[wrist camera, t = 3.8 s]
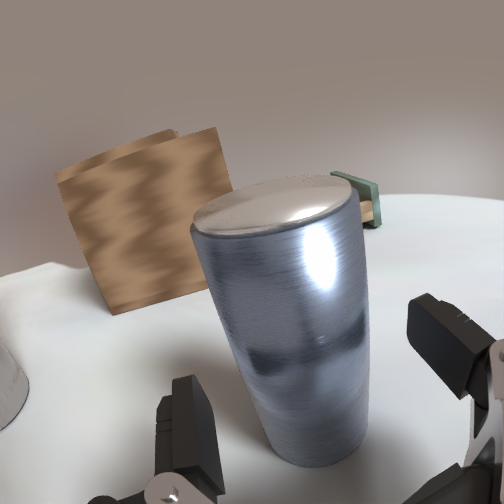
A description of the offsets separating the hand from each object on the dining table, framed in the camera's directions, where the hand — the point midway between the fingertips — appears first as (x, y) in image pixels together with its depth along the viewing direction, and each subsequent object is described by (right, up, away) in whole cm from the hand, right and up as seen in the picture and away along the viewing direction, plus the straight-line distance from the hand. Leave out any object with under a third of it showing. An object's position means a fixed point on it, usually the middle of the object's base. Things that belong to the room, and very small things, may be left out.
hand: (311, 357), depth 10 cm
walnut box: (-11, +2, +28) cm, 30 cm away
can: (+1, -6, +4) cm, 7 cm away
